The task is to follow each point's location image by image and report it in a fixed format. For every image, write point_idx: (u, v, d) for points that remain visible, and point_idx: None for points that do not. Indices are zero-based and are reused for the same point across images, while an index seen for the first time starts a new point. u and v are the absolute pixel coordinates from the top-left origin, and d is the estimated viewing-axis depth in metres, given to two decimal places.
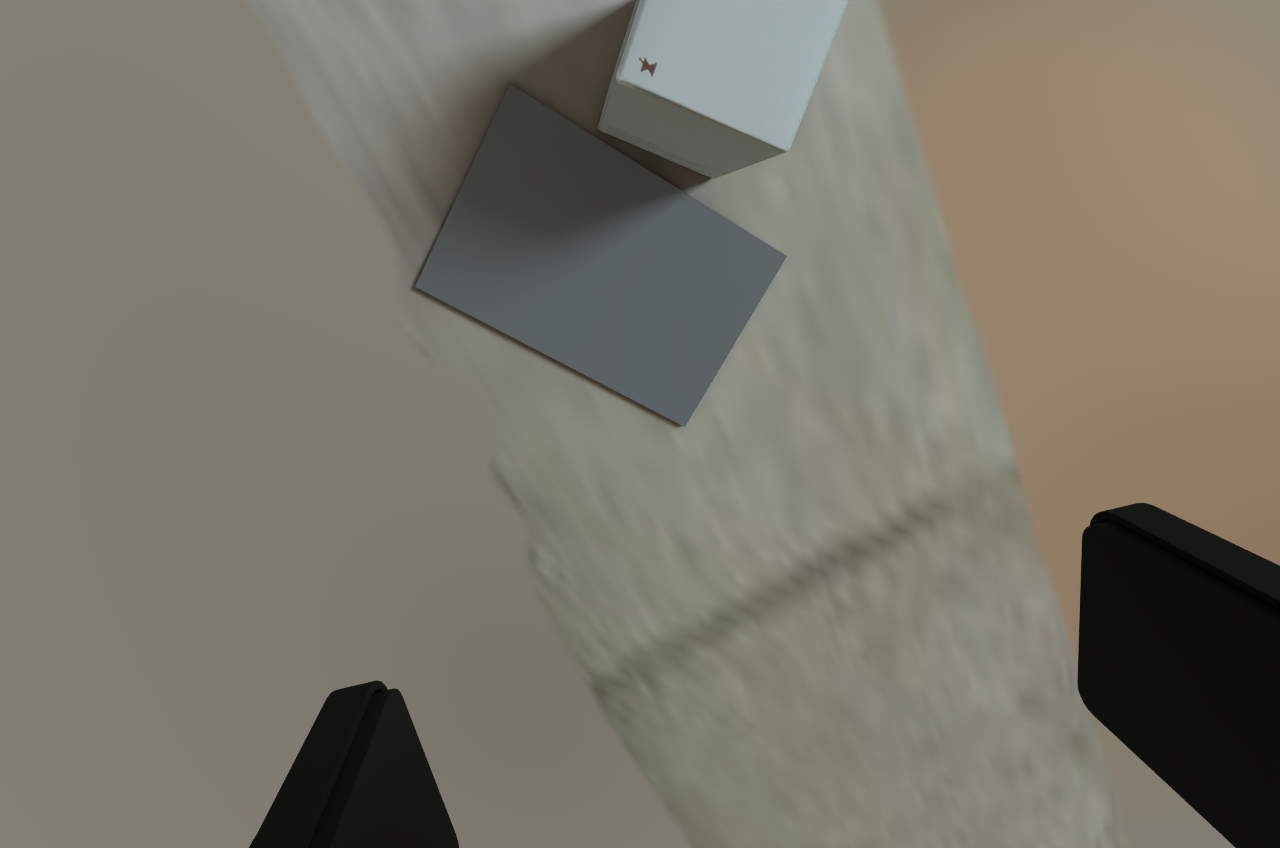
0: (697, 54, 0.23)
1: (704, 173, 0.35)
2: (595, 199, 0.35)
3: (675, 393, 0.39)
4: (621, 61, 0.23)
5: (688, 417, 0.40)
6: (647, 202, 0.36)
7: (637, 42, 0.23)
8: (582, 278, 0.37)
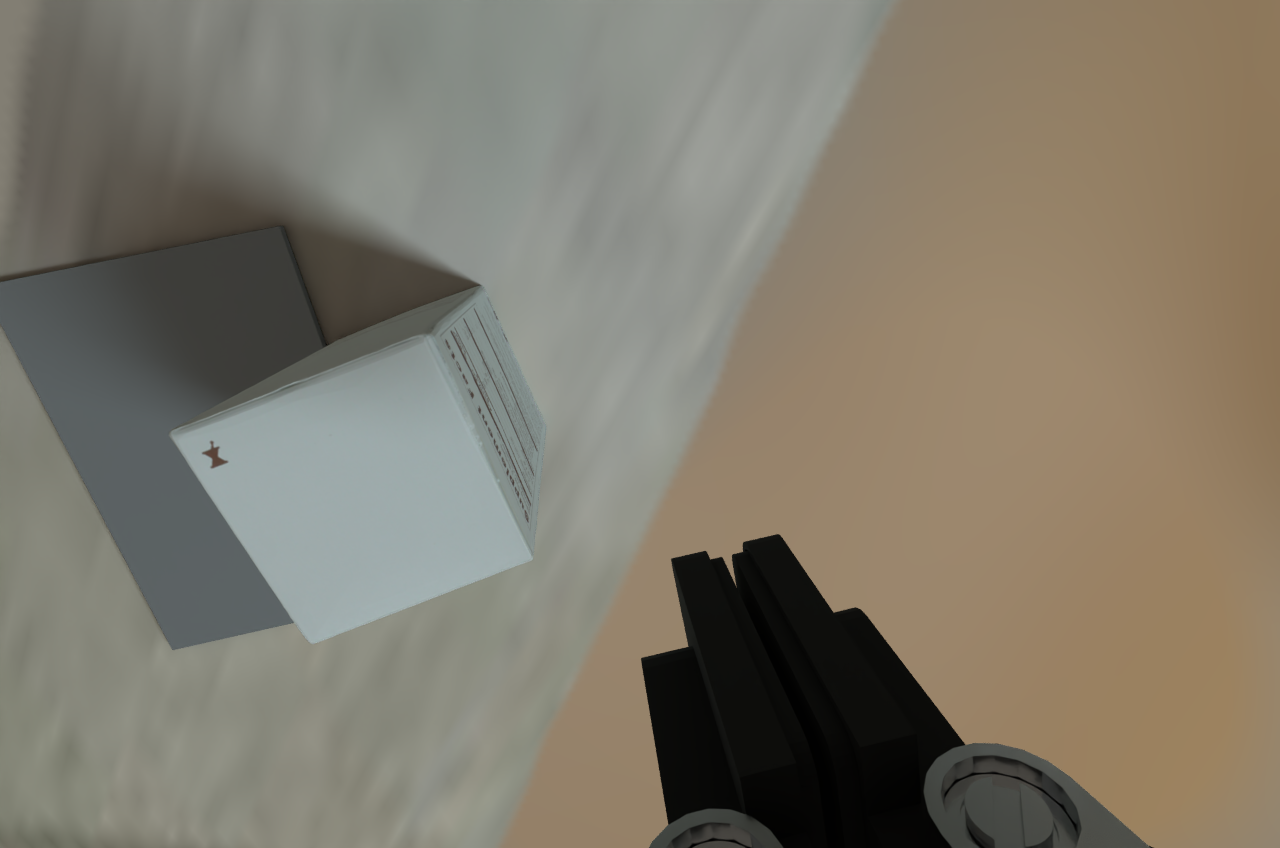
0: (281, 493, 0.17)
1: None
2: None
3: (191, 615, 0.31)
4: (191, 423, 0.16)
5: (184, 645, 0.31)
6: None
7: (223, 426, 0.16)
8: None
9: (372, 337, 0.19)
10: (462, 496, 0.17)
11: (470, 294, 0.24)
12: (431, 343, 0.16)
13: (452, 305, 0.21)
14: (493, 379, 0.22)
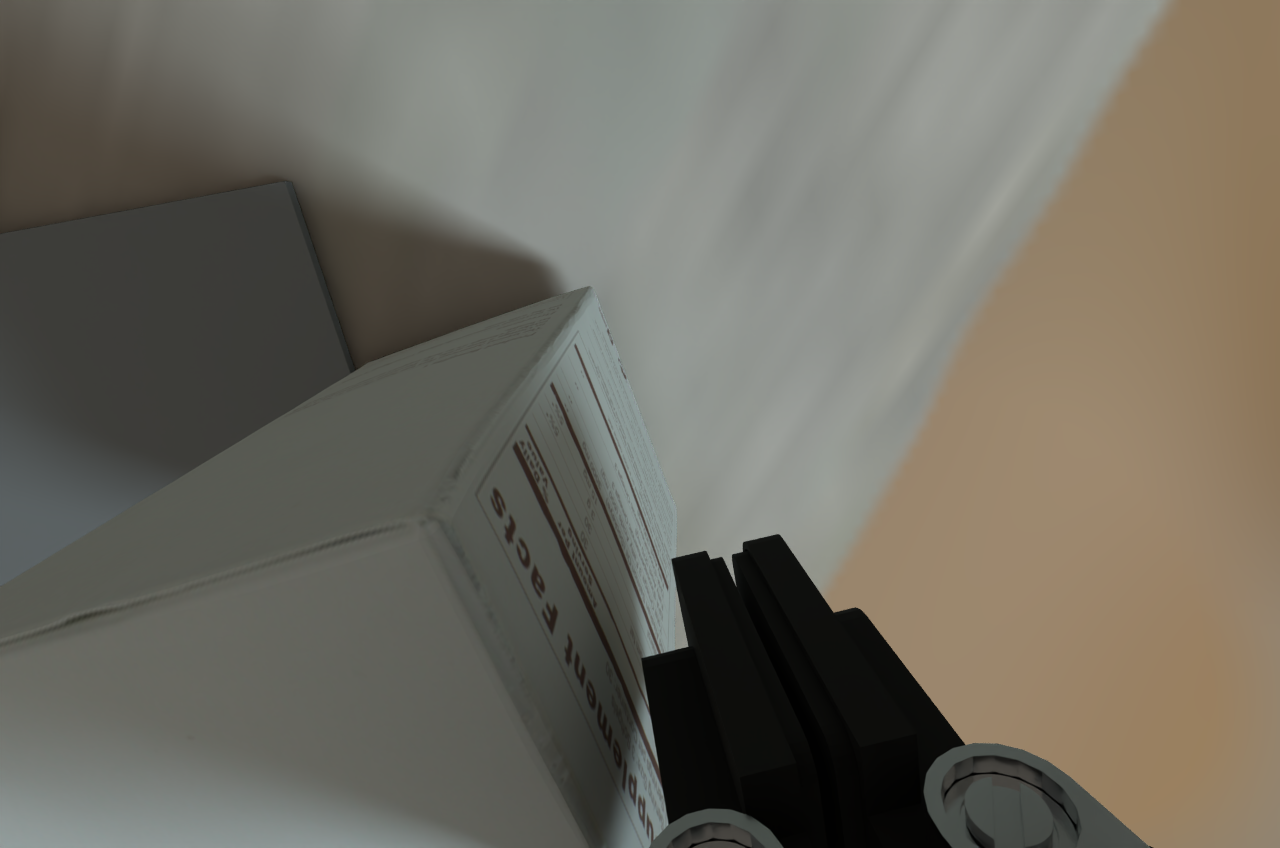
0: (97, 836, 0.07)
1: None
2: None
3: None
4: None
5: None
6: None
7: None
8: None
9: (359, 427, 0.09)
10: None
11: (570, 312, 0.14)
12: (438, 541, 0.06)
13: (532, 350, 0.11)
14: (602, 499, 0.11)
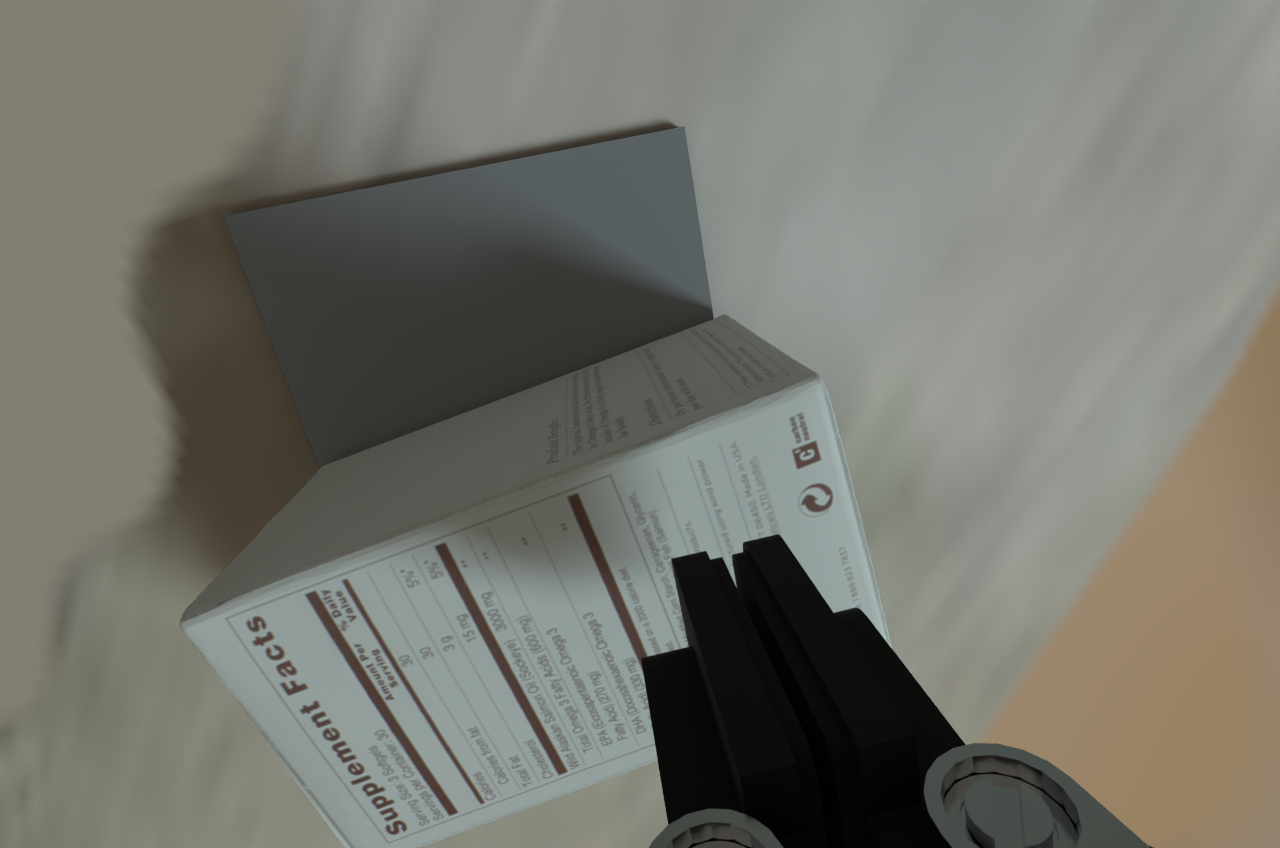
0: None
1: None
2: None
3: None
4: (314, 476, 0.17)
5: None
6: None
7: None
8: None
9: (395, 484, 0.14)
10: None
11: (638, 443, 0.11)
12: (186, 631, 0.11)
13: (468, 501, 0.11)
14: (496, 639, 0.12)
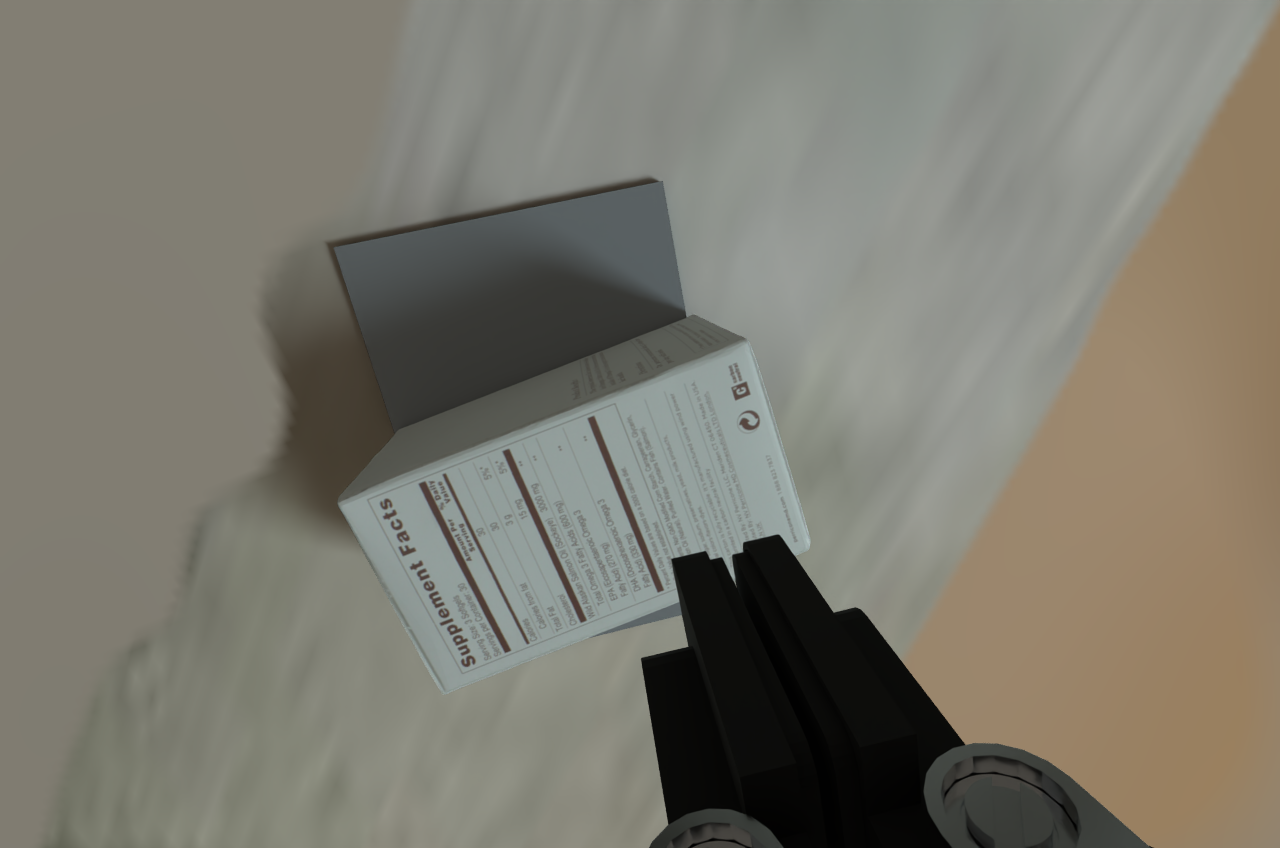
0: None
1: None
2: None
3: None
4: (394, 435, 0.24)
5: None
6: None
7: None
8: None
9: (467, 424, 0.20)
10: None
11: (632, 383, 0.18)
12: (340, 509, 0.18)
13: (523, 422, 0.18)
14: (540, 517, 0.18)
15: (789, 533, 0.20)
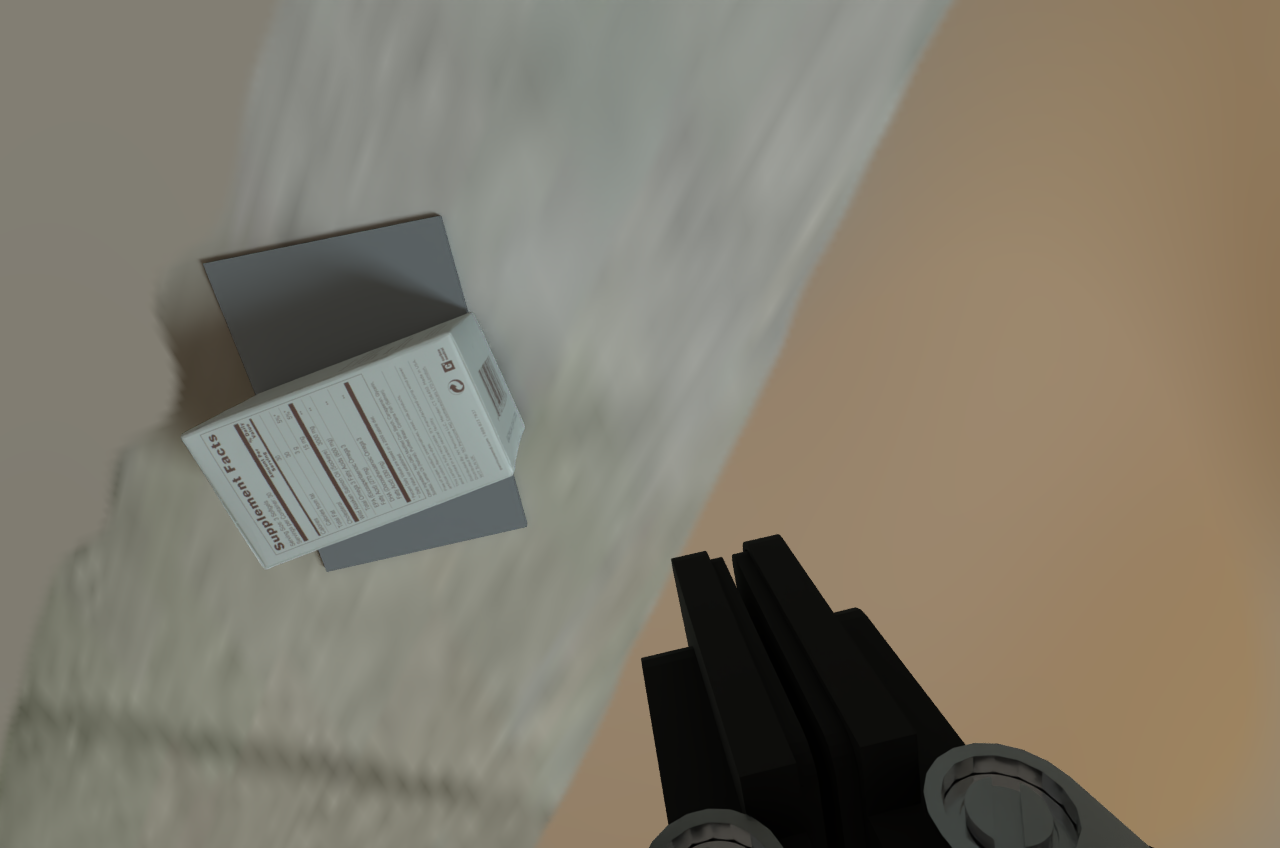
0: None
1: None
2: None
3: (344, 541, 0.37)
4: (253, 397, 0.33)
5: (337, 567, 0.37)
6: None
7: None
8: None
9: (281, 388, 0.29)
10: None
11: (373, 360, 0.27)
12: (183, 441, 0.27)
13: (303, 386, 0.27)
14: (318, 449, 0.28)
15: (495, 463, 0.29)
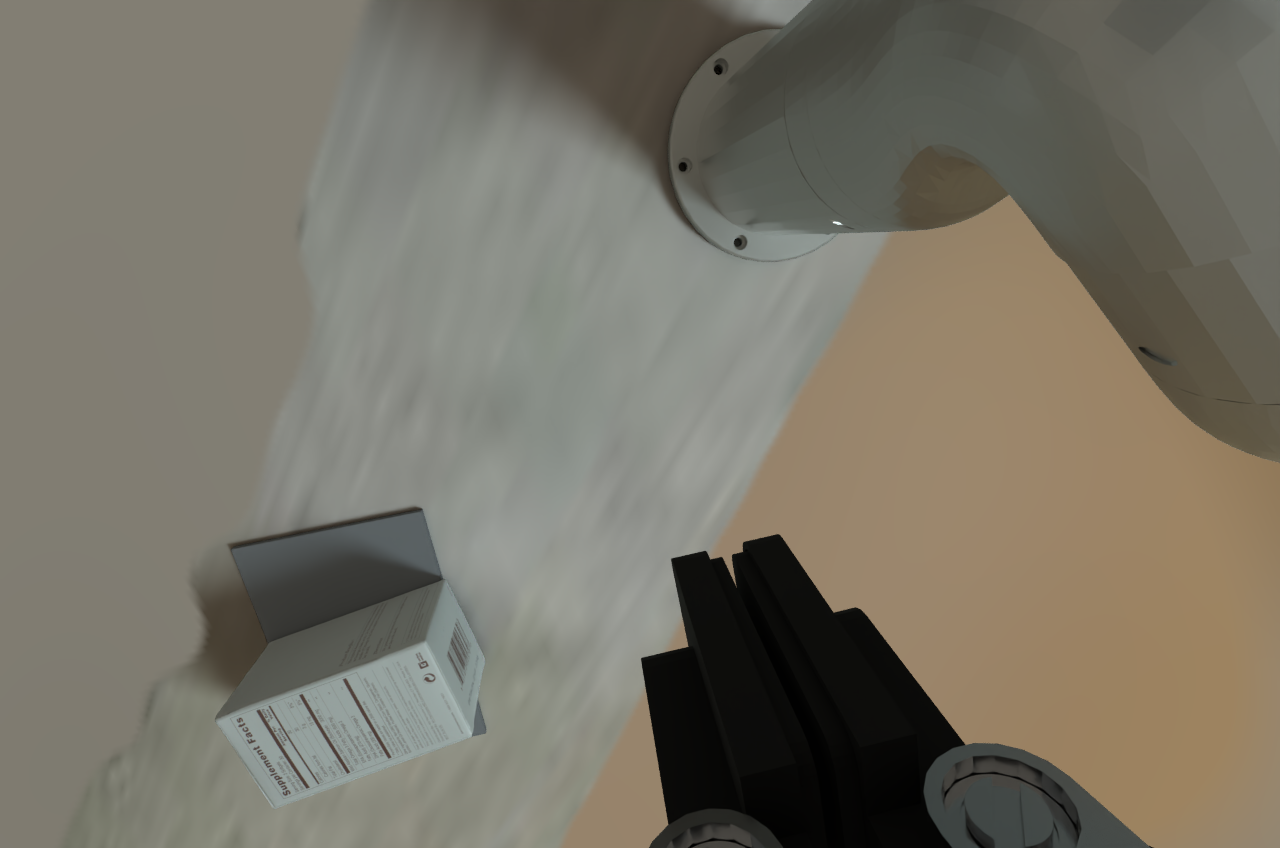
0: None
1: None
2: None
3: None
4: (265, 648, 0.41)
5: None
6: None
7: None
8: None
9: (292, 665, 0.38)
10: None
11: (366, 662, 0.36)
12: (216, 722, 0.35)
13: (311, 679, 0.36)
14: (320, 725, 0.36)
15: (458, 729, 0.37)
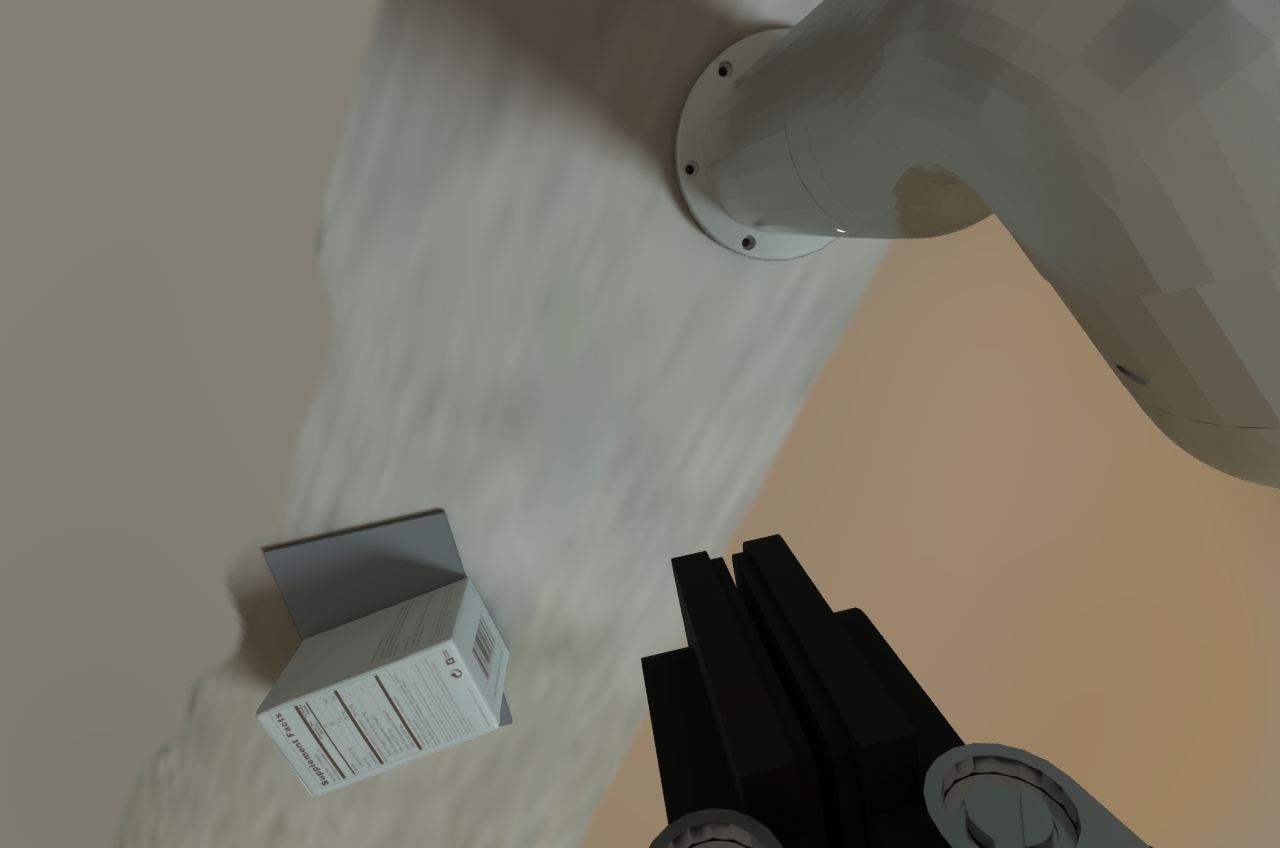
0: None
1: None
2: None
3: None
4: (300, 645, 0.43)
5: None
6: None
7: None
8: None
9: (326, 663, 0.39)
10: None
11: (395, 659, 0.37)
12: (257, 717, 0.37)
13: (344, 676, 0.37)
14: (354, 719, 0.38)
15: (485, 722, 0.39)
